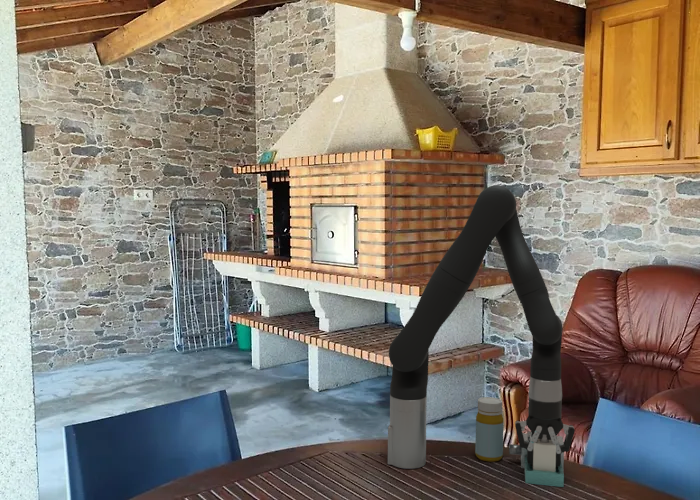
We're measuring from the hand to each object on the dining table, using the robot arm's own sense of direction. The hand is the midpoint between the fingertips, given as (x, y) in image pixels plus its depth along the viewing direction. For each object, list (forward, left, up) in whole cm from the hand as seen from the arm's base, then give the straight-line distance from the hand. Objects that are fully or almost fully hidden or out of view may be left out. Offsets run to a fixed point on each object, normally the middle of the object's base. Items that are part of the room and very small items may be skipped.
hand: (543, 466), depth 150 cm
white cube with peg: (0, 0, -1) cm, 1 cm away
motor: (-2, +3, -3) cm, 5 cm away
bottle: (-13, +10, -3) cm, 17 cm away
